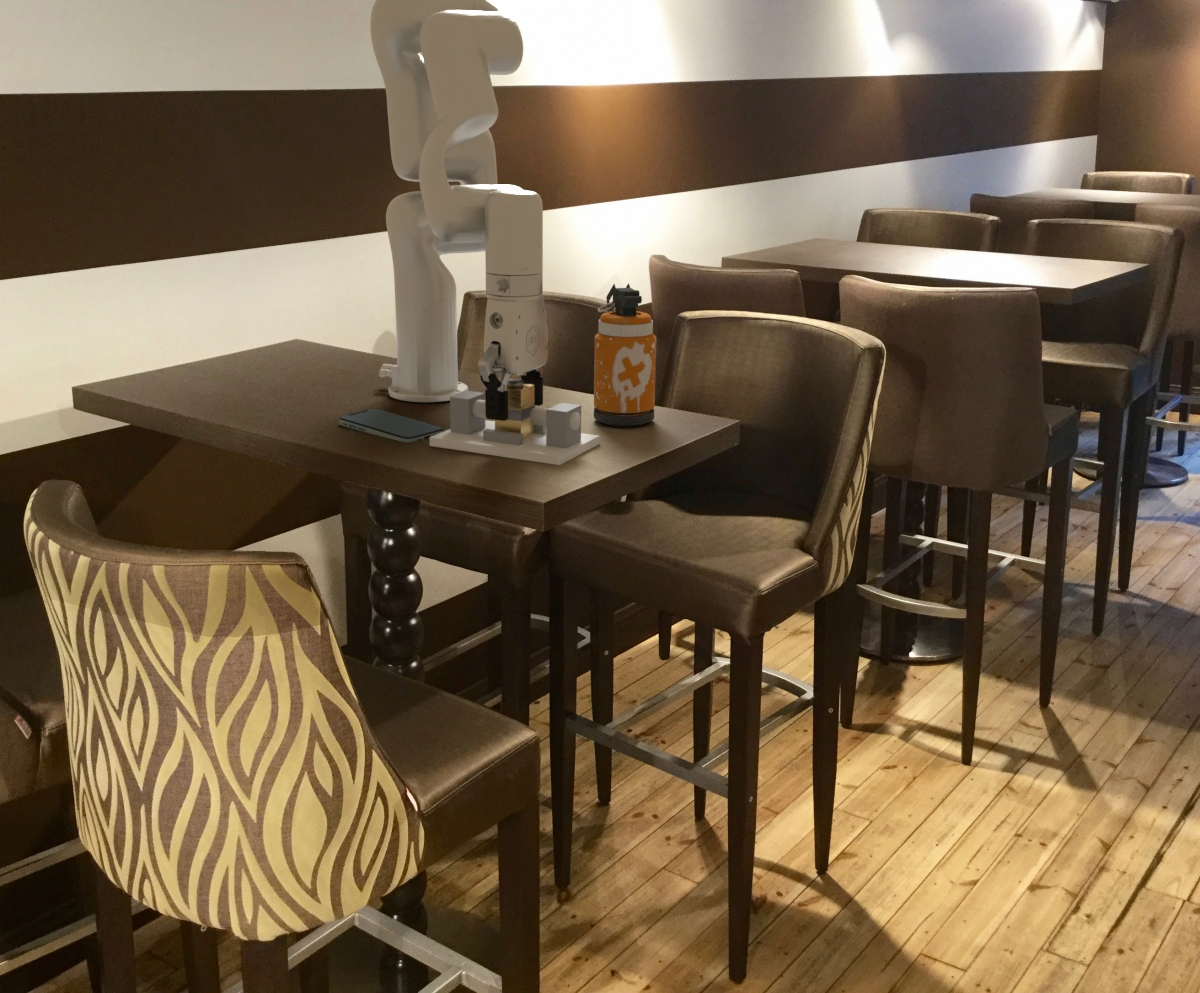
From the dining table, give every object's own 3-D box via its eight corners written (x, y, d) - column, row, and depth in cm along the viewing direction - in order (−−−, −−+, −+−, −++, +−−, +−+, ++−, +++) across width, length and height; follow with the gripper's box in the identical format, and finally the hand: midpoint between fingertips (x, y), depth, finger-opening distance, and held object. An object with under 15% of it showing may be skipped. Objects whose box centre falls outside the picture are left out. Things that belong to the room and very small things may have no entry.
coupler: (521, 441, 173) (520, 384, 170) (494, 437, 174) (494, 381, 172) (534, 434, 176) (534, 379, 174) (508, 431, 178) (508, 376, 175)
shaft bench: (429, 445, 174) (428, 401, 173) (474, 426, 185) (474, 384, 183) (559, 465, 166) (559, 419, 164) (599, 444, 177) (600, 400, 175)
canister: (602, 430, 184) (604, 291, 178) (583, 412, 194) (584, 280, 188) (661, 427, 186) (666, 290, 180) (639, 409, 196) (642, 279, 190)
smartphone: (407, 438, 175) (335, 416, 184) (407, 449, 176) (336, 427, 185) (446, 427, 181) (375, 407, 190) (446, 439, 182) (375, 418, 190)
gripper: (506, 296, 160) (507, 429, 165) (569, 280, 175) (568, 402, 180) (455, 292, 163) (457, 422, 168) (521, 276, 178) (521, 396, 183)
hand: (514, 411), depth 174 cm, fingers open, 9 cm apart
